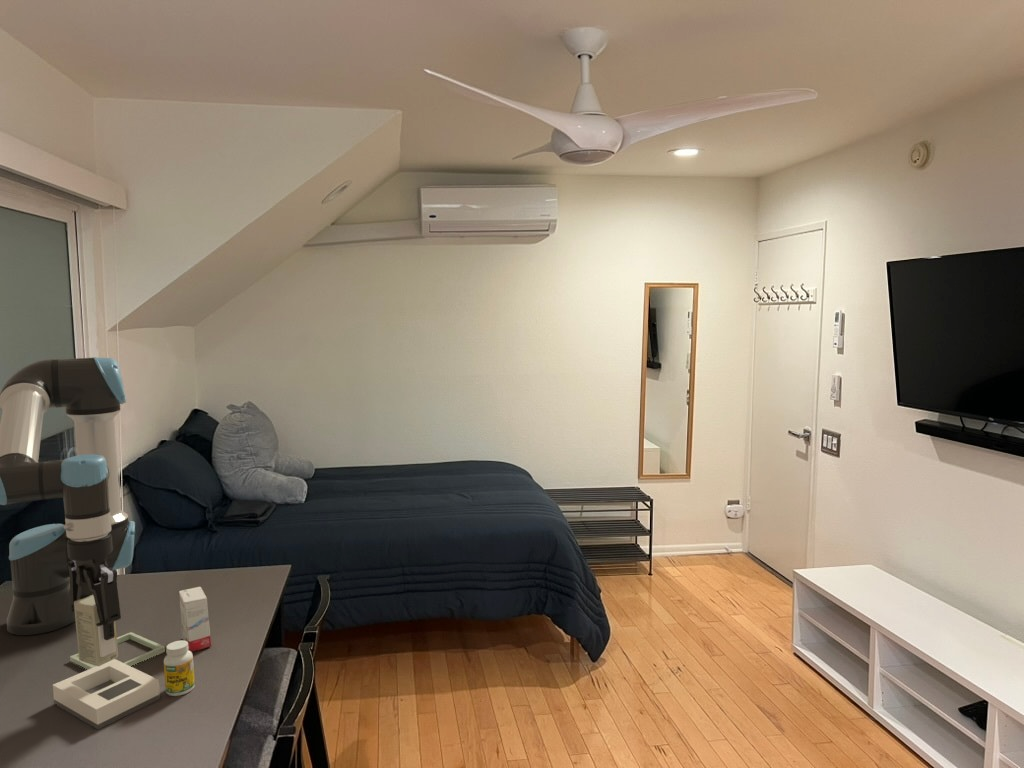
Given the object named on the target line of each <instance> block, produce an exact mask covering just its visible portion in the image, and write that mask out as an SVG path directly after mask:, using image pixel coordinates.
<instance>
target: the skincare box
mask: <svg viewBox="0 0 1024 768" xmlns="http://www.w3.org/2000/svg"><path fill="white" fill-rule="evenodd" d="M74 609H75V620H76V621H75V629H76V630H75V631H76V641H77V650H78V651H77V653H78V654H79V661H82V662H85V663H89V664H92V665H95V666H101V665H103V664H105V663H107V662H109V661H111V660H113V659H117V658H119V652H118V651H119V650H118V644H117V628H116V627H117V626H116V621H114V632H115V645H116V652H114V653H111V654H109V655H106V656H104V657H100V652H99V639H98V626H97V625H96V624H97V623H99V622H100V620H99V616H98V612H97V606H96V604H95V600H94V596H93V595H91V596H88V597H85V598H82V599H80V600H77V601H74Z"/></svg>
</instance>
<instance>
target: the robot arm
mask: <svg viewBox="0 0 1024 768" xmlns="http://www.w3.org/2000/svg"><path fill="white" fill-rule="evenodd" d="M124 387H125V386H124V383H123V378H122V373H121V370H120V365H119V362H118V361H117V360H116V359H114V358H112V357H78V358H62V359H53V358H52V359H42V360H38V361H35V362H33V363H30V364H28V365H25V366H24V367H22V368H21V369H18V371H17V372H15V373H14V374H13V375H12V376H11V377H10V378H9V379H7V381H6V382H5V384H4V385H3V386H2V388H1V391H0V409H1V410H2V412H1V418H0V506H1V505H2V506H6V505H11V504H13V505H14V504H20V503H27V502H34V501H36V502H37V501H43V500H52V499H54V500H55V499H60V498H61V499H62V498H63V507H64V508H63V509H64V518H65V519H64V522H65V524H63V523H52V524H51V523H50V524H44V525H40V526H36V527H33V528H30V529H27V530H25V531H23V532H20V533H19V534H16V535H15V536H14V537H12V539H11V540H10V542H9V546H8V548H9V555H8V560H9V561H10V573H11V574H10V575H11V586H12V601H11V604H10V608H9V611H8V614H7V618H6V631H7V632H8V633H10V634H11V635H14V634H15V636H34V635H40V634H46V633H50V632H53V631H56V630H59V629H63V628H64V627H66V626H69V625H71V624H72V623H74V622H76V620H75V609H74V601H77V600H80V599H82V598H85V597H88V596H91V595H93V596H94V600H95V604H96V606H97V612H98V616H99V620H100V622H99V623H97V624H96V625H97V626H98V639H99V652H100V657H104V656H106V655H109V654H111V653H114V652H116V645H115V632H114V621H115V622H116V621H119V620H121V618H122V615H121V614H122V613H121V607H120V599H119V592H118V582H117V580H118V571H117V570H121V569H125V568H128V567H129V566H131V564H132V562H133V558H134V548H135V546H134V545H135V531H136V530H135V527H136V522H135V521H132V520H129V514H128V513H127V512H125V511H123V510H122V509H121V507H122V506H121V496H120V494H121V493H120V482H119V469H118V467H119V466H118V455H117V442H116V441H117V438H116V426H115V417H116V416H117V415H118V414H119V413H120V412H121V405H124V404H126V403H127V397H126V392H125V388H124ZM51 408H53V409H54V408H65V412H66V416H67V417H69V418H70V419H72V421H73V422H74V423H73V424H74V436H75V449H76V455H74V456H70V457H68V458H65V459H59V460H49V461H39V460H40V459H39V458H40V457H39V456H40V449H41V448H40V447H41V439H42V430H43V428H42V427H43V423H44V422H43V421H44V414H45V413H47V411H48V409H51Z"/></svg>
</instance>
